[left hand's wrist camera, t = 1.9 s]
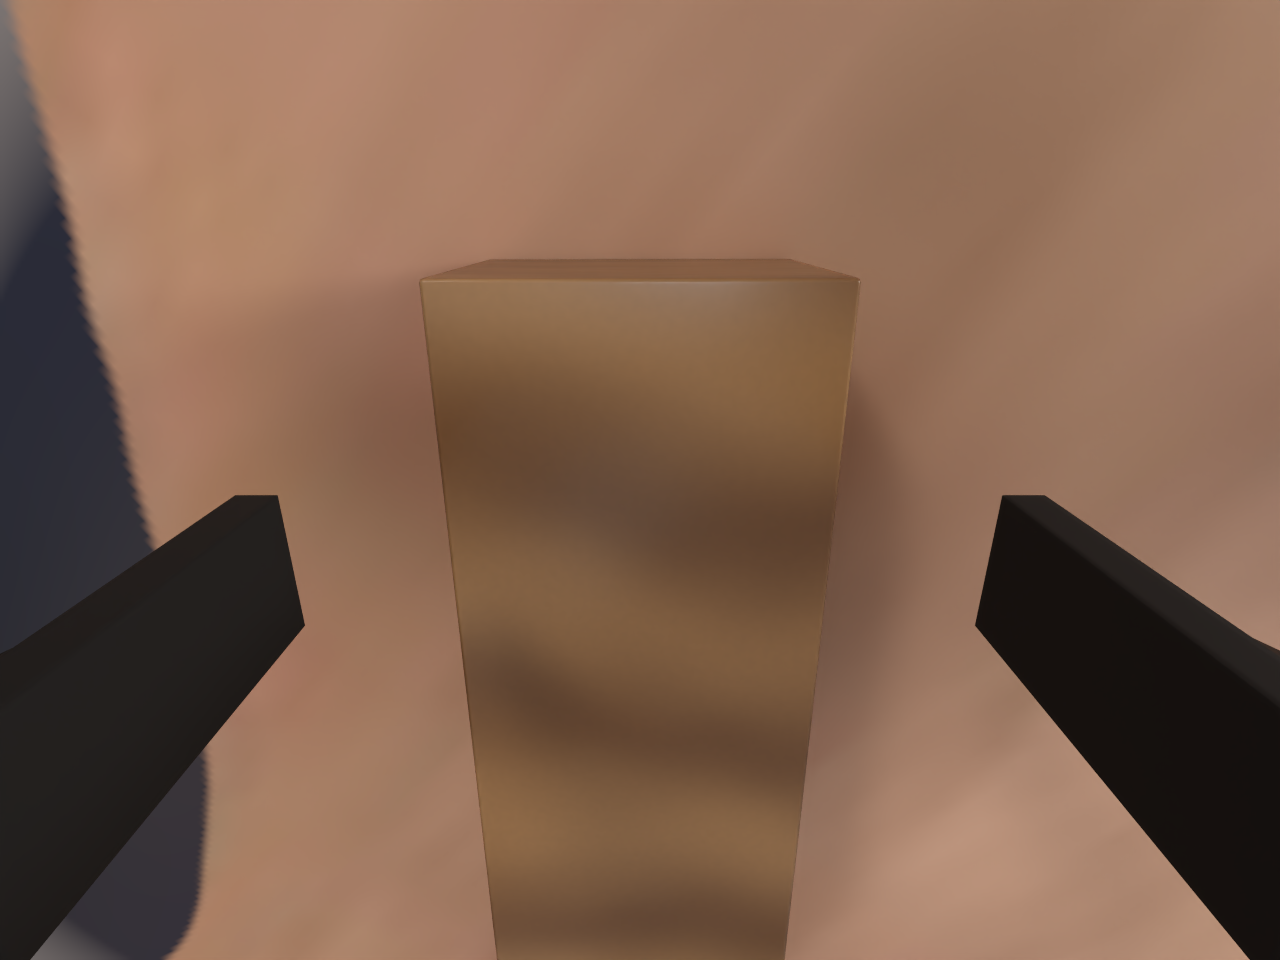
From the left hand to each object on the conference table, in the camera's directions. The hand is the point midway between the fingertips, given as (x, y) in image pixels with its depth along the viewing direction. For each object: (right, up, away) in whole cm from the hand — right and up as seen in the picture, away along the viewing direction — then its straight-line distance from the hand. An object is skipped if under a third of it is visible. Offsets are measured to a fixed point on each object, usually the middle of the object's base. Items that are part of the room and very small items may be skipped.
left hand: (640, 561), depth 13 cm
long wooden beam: (0, -25, +22) cm, 33 cm away
